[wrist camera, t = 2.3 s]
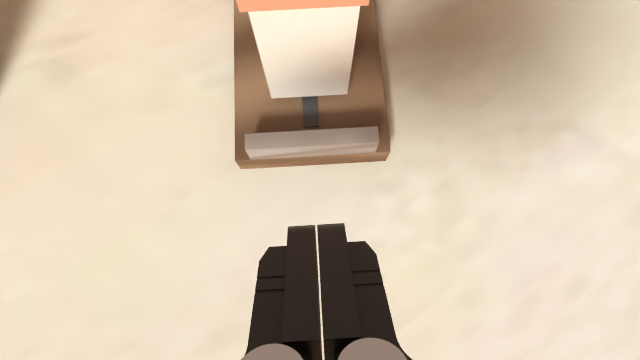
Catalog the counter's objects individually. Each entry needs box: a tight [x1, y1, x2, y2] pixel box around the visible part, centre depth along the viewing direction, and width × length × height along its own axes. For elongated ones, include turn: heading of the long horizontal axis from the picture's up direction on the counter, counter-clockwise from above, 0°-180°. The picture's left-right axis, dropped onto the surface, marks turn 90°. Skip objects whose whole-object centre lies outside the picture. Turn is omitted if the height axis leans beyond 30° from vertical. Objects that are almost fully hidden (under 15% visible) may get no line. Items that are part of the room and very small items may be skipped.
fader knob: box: [236, 0, 369, 98], centre depth 21 cm, size 5×6×10 cm
